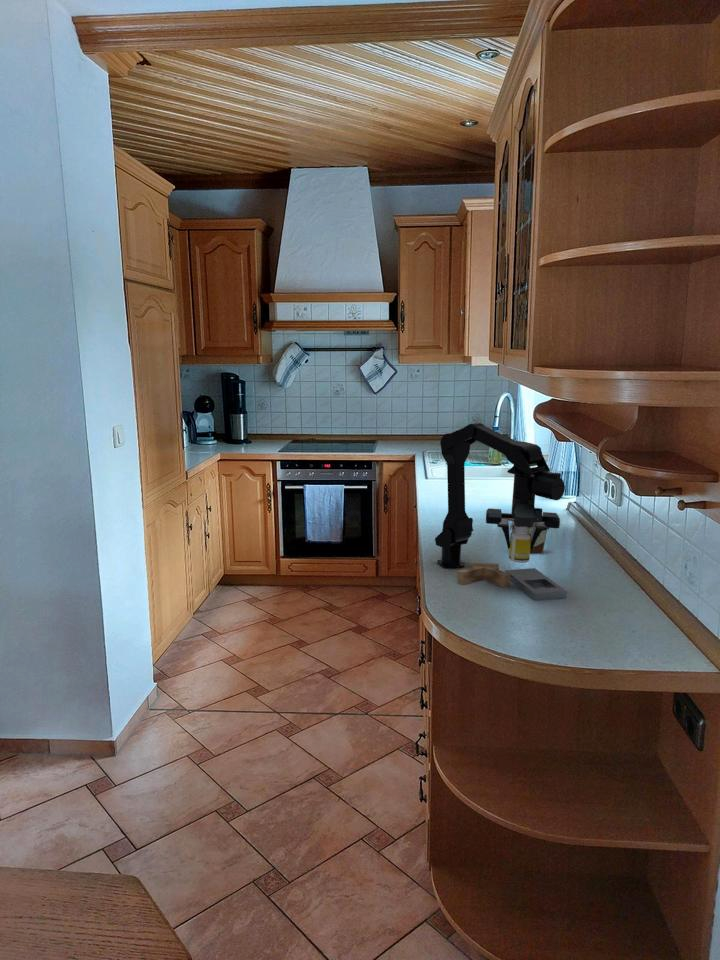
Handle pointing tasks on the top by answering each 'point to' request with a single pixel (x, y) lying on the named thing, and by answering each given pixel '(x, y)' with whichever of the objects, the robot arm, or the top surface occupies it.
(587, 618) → the top surface
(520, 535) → the supplement bottle
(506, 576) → the walnut V-block
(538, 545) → the food container
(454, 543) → the robot arm
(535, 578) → the gray slab with hole
